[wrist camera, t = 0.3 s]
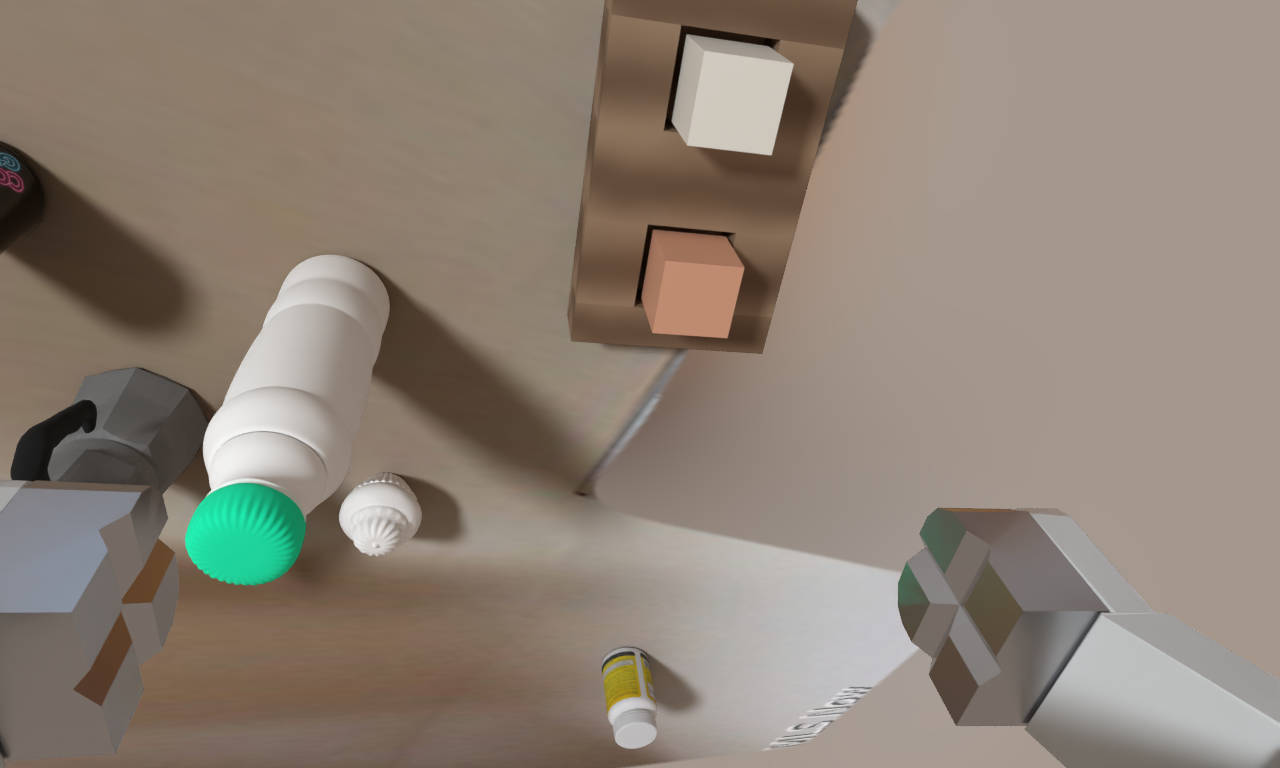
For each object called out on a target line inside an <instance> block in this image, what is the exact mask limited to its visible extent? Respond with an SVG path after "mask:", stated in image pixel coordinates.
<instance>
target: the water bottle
mask: <svg viewBox="0 0 1280 768" xmlns="http://www.w3.org/2000/svg"><path fill="white" fill-rule="evenodd" d="M389 311H390V303H389V297H388V293H387V290H386V288H385V286H384V284H383V283H382V281H381V280H380V278H379V277H378V276H377V275H376V274H375V273H374V272H373V271H372V270H371V269H370V268H368V267H367V266H365V265H364V264H362V263H360V262H358V261H356V260H354V259H351V258H348V257H345V256H339V255H321V256H316V257H312V258H309V259H307V260H305V261H303V262H301V263H300V264H298V265H297V266H296V267H295V268H294V269H293V270H292V271H291V272H290V273H289V275H288V276H287V278H286V279H285V281H284V283H283V285H282V287H281V289H280V292H279V295H278V298H277V300H276V301H275V303H274V304H273V305H272V307H271V309H270V310H269V312H268V314H267V316H266V319H265V321H264V324H263V329H262V331H261V332H260V333H259V335H258V336H257V338H256V339H255V341H254V342H253V344H252V346H251V347H250V349H249V351H248V352H247V354H246V356H245V358H244V360H243V361H242V363H241V365H240V367H239V369H238V371H237V373H236V375H235V377H234V379H233V381H232V383H231V385H230V388H229V390H228V392H227V395H226V397H225V400H224V403H223V405H222V407H221V408H220V409H219V410H218V411H217V412H216V413H215V415H214V416H213V418H212V419H211V421H210V423H209V425H208V427H207V430H206V433H205V436H204V442H203V456H204V462H205V466H206V469H207V472H208V475H209V483H210V488H211V491H210V492H209V493H208V494H207V496H206V497H205V498H204V500H203V501H202V502H201V503H200V504H199V506H198V507H197V509H196V511H195V512H194V515H193V517H192V519H191V521H190V523H189V526H188V529H187V533H186V536H185V542H186V549H187V551H188V554H189V556H190V557H191V558H192V561H193V563H195V564H197V567H198V568H199V569H201V570H203V572H204V573H205V574H209V575H210V577H211V578H217V579H218V580H219V581H226V582H227V583H228V584H230V583H235V584H236V585H239V584H243V585H245V586H247V585H250V584H251V585H258V584H265V583H267V582H271V581H273V580H275V579H276V578H279V577H281V576H282V575H283V574H284V573H286V572H287V571H288V570H289V568H291V567H292V566H293V564H294V563H295V561H296V559H297V557H298V556H299V553H300V551H301V548H302V545H303V541H304V537H305V532H306V515H307V514H309V513H310V512H311V511H312V510H313V509H314V508H315V507H316V506H317V505H319V504H320V503H322V502H323V501H324V500H326V499H327V498H328V497H330V496H331V495H332V494H333V493H334V492H335V491H336V490H337V489H338V487H339V486H340V485H341V484H342V482H343V481H344V479H345V477H346V475H347V473H348V470H349V468H350V464H351V459H352V445H353V442H354V440H355V437H356V435H357V432H358V429H359V426H360V423H361V419H362V416H363V412H364V409H365V405H366V401H367V397H368V393H369V388H370V383H371V377H372V369H373V366H374V364H375V362H376V360H377V357H378V354H379V351H380V346H381V339H382V335H383V333H384V331H385V328H386V325H387V321H388V317H389Z"/></svg>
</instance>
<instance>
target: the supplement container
mask: <svg viewBox="0 0 1280 768" xmlns="http://www.w3.org/2000/svg"><path fill="white" fill-rule="evenodd" d="M44 207H45V197H44V192H43V188H42V185H41V183H40V181H39V179H38V177H37V175H36V173H35V172H34V171H33V169H32V168H31V167H30V165H29V164H28V163H27V162H26V161H25V160H24V159H23V158H22V157H21V156H19V155H18V154H17V153H16V152H14V151H13V150H12V149H10V148H9V147H7V146H6V145H4V144H2V143H0V255H1V254H2V253H4V252H5V251H6V250H7V249H9V248H10V247H11V246H13V245H14V244H15V243H17V242H18V241H19V240H20V239H22V238H23V237H24V236H26V235H27V234H28V233H29V232H31V231H32V230H33V229H34V228H35V227H36V226H37V225H38V224H39V222H40V221H41V219H42V216H43V213H44Z"/></svg>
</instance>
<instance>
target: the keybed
mask: <svg viewBox="0 0 1280 768" xmlns="http://www.w3.org/2000/svg"><path fill="white" fill-rule="evenodd" d="M857 1H858V0H605V5H604V13H603V22H602V30H601V38H600V47H599V55H598V63H597V72H596V80H595V89H594V97H593V105H592V114H591V122H590V130H589V139H588V147H587V155H586V164H585V172H584V180H583V189H582V197H581V205H580V214H579V222H578V230H577V239H576V247H575V256H574V264H573V272H572V281H571V289H570V297H569V306H568V314H567V315H568V322H569V329H570V336H571V341H575V342H590V343H605V344H620V345H636V346H651V347H666V348H682V349H697V350H712V351H713V350H714V351H729V352H743V353H758V354H762V352H763V348H764V344H765V341H766V337H767V333H768V330H769V326H770V322H771V319H772V315H773V311H774V308H775V304H776V300H777V297H778V293H779V289H780V285H781V281H782V278H783V274H784V271H785V267H786V263H787V259H788V256H789V252H790V249H791V245H792V241H793V237H794V233H795V230H796V226H797V222H798V219H799V215H800V211H801V208H802V204H803V200H804V197H805V193H806V189H807V186H808V182H809V178H810V175H811V171H812V167H813V164H814V160H815V156H816V152H817V149H818V145H819V141H820V138H821V134H822V130H823V127H824V123H825V119H826V116H827V112H828V108H829V104H830V101H831V97H832V93H833V90H834V86H835V82H836V79H837V75H838V71H839V67H840V64H841V60H842V56H843V53H844V49H845V45H846V42H847V38H848V34H849V31H850V27H851V23H852V19H853V16H854V12H855V8H856V5H857ZM687 34H689V35H696V36H703V37H709V38H716V39H723V40H730V41H736V42H743V43H750V44H757V45H764V46H769V47H770V48H772V49H773V50H775V51H776V52H778V53H779V54H781V55H782V56H783V57H785V58H786V59H788V60H789V61H791V62H792V63H794V65H793V69H792V73H791V77H790V82H789V86H788V90H787V94H786V98H785V102H784V106H783V110H782V115H781V119H780V123H779V127H778V131H777V135H776V139H775V144H774V148H773V152H772V155H764V154H755V153H747V152H738V151H730V150H721V149H713V148H704V147H696V146H687V145H686V143H685V142H684V140H683V138H682V137H681V135H680V134H679V132H678V131H677V129H676V128H675V126H674V125H673V123H672V116H673V110H674V104H675V99H676V93H677V87H678V81H679V75H680V69H681V64H682V58H683V52H684V46H685V40H686V35H687ZM653 230H663V231H674V232H684V233H695V234H705V235H716V236H726V238H727V239H728V241H729V243H730V244H731V246H732V248H733V249H734V251H735V253H736V254H737V256H738V258H739V259H740V261H741V263H742V264H743V266H744V272H743V276H742V280H741V284H740V288H739V293H738V297H737V301H736V305H735V309H734V313H733V317H732V322H731V326H730V330H729V334H728V338H716V337H702V336H687V335H673V334H658V333H652V330H651V327H650V324H649V321H648V318H647V314H646V311H645V308H644V305H643V302H642V299H641V296H642V290H643V285H644V279H645V273H646V267H647V261H648V256H649V250H650V244H651V238H652V232H653Z"/></svg>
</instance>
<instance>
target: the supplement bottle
mask: <svg viewBox="0 0 1280 768" xmlns="http://www.w3.org/2000/svg"><path fill="white" fill-rule="evenodd" d="M602 673H603V681H604V689H605V697H606V705H607V713H608V718H609V721H610V723H611V724H612V725H613V731H614V735H615V740H616V742H617V744H618V745H620V746H621V747H624V748H629V749H634V748H640V747H643V746H646V745H648V744H650V743H651V742H652V741H653V740H654V739H655V738H656V735H657V727H656V720H655V717H656V715H657V705H656V700H655V694H654V689H653V684H652V678H651V673H650V668H649V662H648V658H647V656H646V654H645V653H644V652H643V651H641V650H639V649H636V648H630V647H625V648H619V649H616V650H614V651H612V652H610V653H609V654H608V655H607V656H606V657H605V658H604V660H603V662H602Z"/></svg>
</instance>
